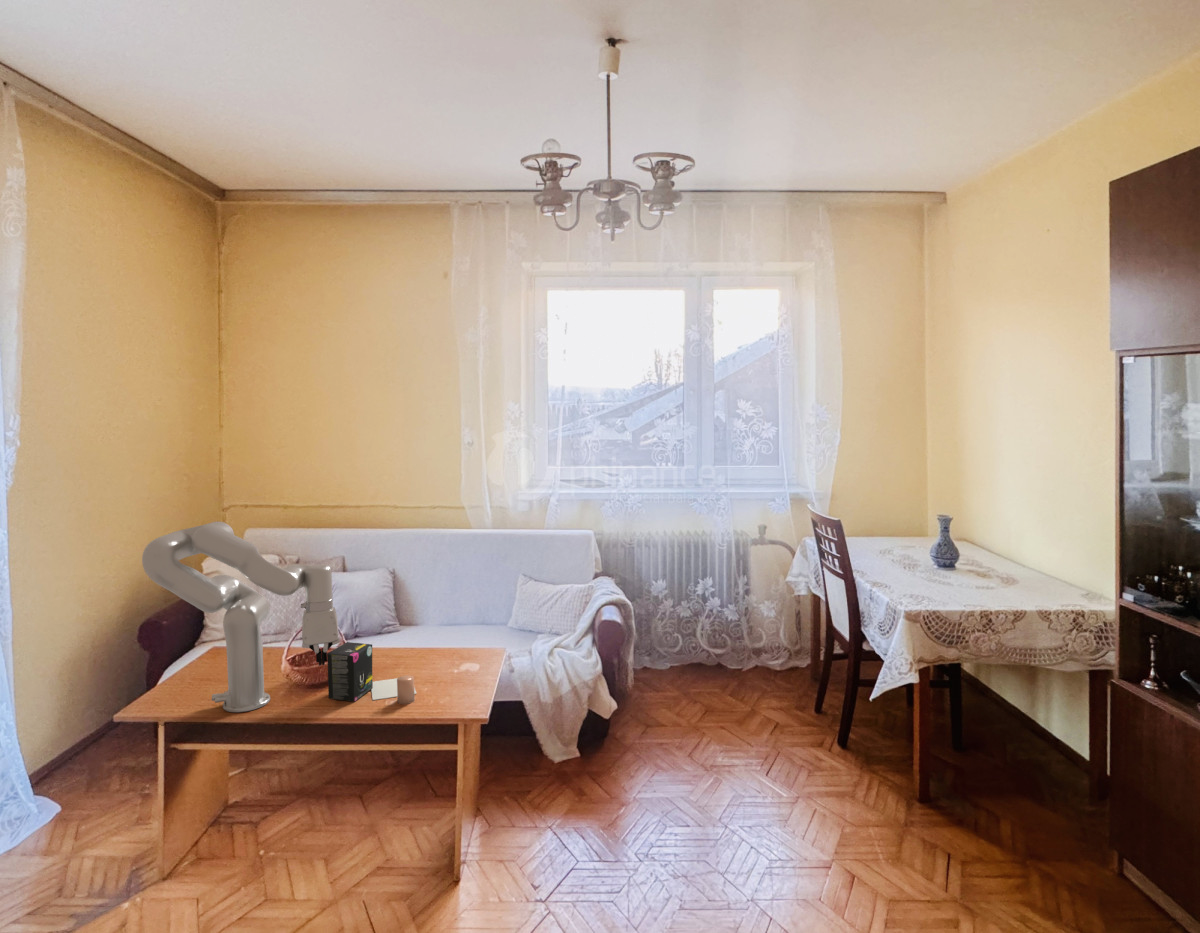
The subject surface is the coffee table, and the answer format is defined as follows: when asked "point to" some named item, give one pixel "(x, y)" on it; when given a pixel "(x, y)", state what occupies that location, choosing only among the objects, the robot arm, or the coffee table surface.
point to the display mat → (385, 689)
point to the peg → (405, 689)
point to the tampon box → (350, 671)
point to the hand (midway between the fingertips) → (321, 663)
